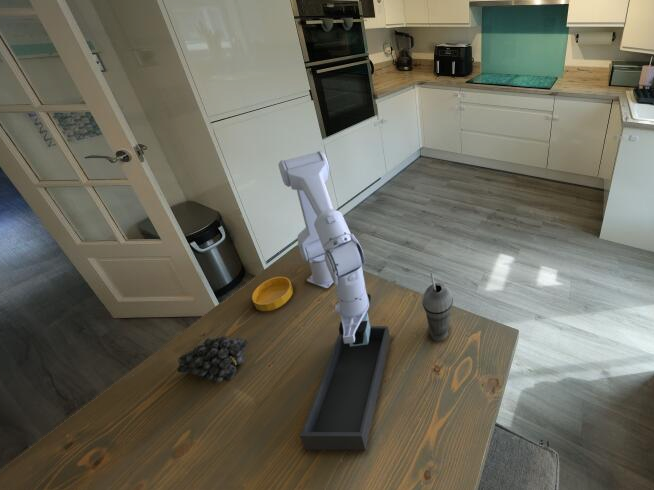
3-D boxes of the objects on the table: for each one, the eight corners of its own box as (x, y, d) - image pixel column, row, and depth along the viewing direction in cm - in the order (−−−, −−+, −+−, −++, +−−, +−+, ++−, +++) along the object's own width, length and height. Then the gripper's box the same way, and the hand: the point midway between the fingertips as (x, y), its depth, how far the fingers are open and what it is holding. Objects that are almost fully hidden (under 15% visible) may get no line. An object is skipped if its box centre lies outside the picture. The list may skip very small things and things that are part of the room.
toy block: (353, 330, 73) (349, 314, 71) (370, 327, 74) (367, 312, 72) (349, 346, 70) (346, 330, 68) (368, 344, 70) (365, 328, 68)
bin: (345, 339, 77) (341, 325, 75) (390, 339, 77) (388, 326, 75) (305, 450, 58) (299, 436, 56) (365, 450, 58) (361, 436, 56)
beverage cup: (449, 349, 75) (448, 289, 67) (420, 343, 76) (415, 284, 68) (456, 322, 81) (455, 264, 73) (429, 317, 83) (426, 260, 74)
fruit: (157, 350, 65) (225, 354, 64) (194, 324, 73) (254, 327, 72) (161, 388, 66) (228, 392, 65) (197, 358, 74) (257, 361, 73)
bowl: (276, 280, 93) (274, 273, 92) (300, 289, 90) (298, 282, 89) (247, 305, 85) (243, 298, 84) (272, 316, 82) (269, 309, 81)
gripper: (339, 266, 72) (347, 307, 77) (322, 324, 59) (334, 368, 64) (370, 263, 73) (376, 304, 78) (360, 319, 60) (369, 363, 65)
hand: (360, 333), depth 71 cm, fingers closed on toy block, 4 cm apart
